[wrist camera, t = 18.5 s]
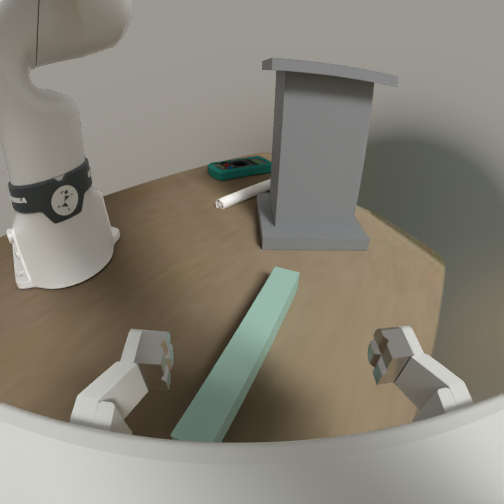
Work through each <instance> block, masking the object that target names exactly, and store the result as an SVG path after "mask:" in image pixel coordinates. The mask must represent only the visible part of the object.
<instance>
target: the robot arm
mask: <svg viewBox="0 0 504 504" xmlns="http://www.w3.org/2000/svg"><path fill="white" fill-rule="evenodd" d="M131 18H132V3H131V0H0V141H1V145H2V149H3V152H4V157H5V161H6V165H7V170H8V174H9V178H10V182H9V184H8V187H9V195H10V199H11V201H12V205H13V208H14V210H15V213H14V221H13V227H12V228H10V229H8V230H7V235H8V239H9V242H10V244H12V243H13V258H14V269H15V278H16V283H17V286H18V288H20V289H25V288H32V287H40V288H47V289H57V288H64V287H68V286H72V285H75V284H78V283H80V282H82V281H84V280H87V279H88V278H90V277H92V276H93V275H95V274H96V273H98V272H99V271H100V270H101V269H103V268H104V267H105V266H106V264H107V263H108V262H109V261H110V259H111V257H112V255H113V250H114V244H115V243H116V242H117V240H118V239H119V237H120V232H119V229H117V228H115V227H112V226H111V225H110V222H109V218H108V214H107V210H106V207H105V203H104V199H103V195H102V193H101V191H98V190H97V189H95V188H93V187H92V186H91V185H92V179H91V169H90V166H89V163H88V159H87V158H85V155H84V149H83V140H82V132H81V122H80V112H79V109H78V106H77V104H76V103H75V101H74V100H73V99H72V98H70V97H69V96H67V95H65V94H62V93H59V92H56V91H52V90H48V89H43V88H39V87H37V86H35V85H34V84H33V83H32V82H31V80H30V77H29V73H30V71H31V70H32V69H34V68H35V67H39V66H43V65H47V64H52V63H56V62H61V61H66V60H71V59H76V58H82V57H85V56H88V55H91V54H94V53H97V52H100V51H103V50H106V49H109V48H112V47H114V46H115V45H117V44H118V42H119V41H120V40H121V39H122V38H123V36H124V35H125V33H126V32H127V30H128V27H129V25H130V22H131ZM374 337H375V339H374V340H372V341H371V342H370V344H369V347H368V359H369V362H370V364H371V365H372V366H373V367H375V368H374V370H373V375H374V378H375V381H376V384H377V385H379V384H388V383H394V384H395V385H396V386H397V387H398V388H399V389H400V390H401V391H402V392H403V393H404V394H405V395H406V396H407V397H408V398H409V399H410V400H411V401H412V402H413V403H414V404H415V405H416V406H417V408H418V409H419V410H420V412H419V413H418V414H417V415H416V416H415V417H414V419H413V422H411V423H407V424H403V425H398V426H394V427H389V428H384V429H379V430H374V431H368V432H362V433H356V434H350V435H343V436H335V437H327V438H318V439H308V440H296V441H281V442H255V443H224V442H198V441H182V440H171V439H161V438H152V437H144V436H136V435H132V431H131V430H130V428H129V427H128V426H127V424H126V422H125V421H124V419H125V418H126V417H127V416H128V414H129V413H130V412H131V411H132V410H133V409H134V407H135V406H136V405H137V404H138V403H139V402H140V400H141V399H142V398H143V397H144V396H145V394H146V393H147V392H148V390H155V391H169V388H170V381H171V375H170V370H171V369H172V368H173V357H174V354H173V346H172V345H171V344H170V339H171V337H170V333H169V332H165V331H153V330H140V329H131V330H130V331H129V333H128V337H127V340H126V343H125V346H124V350H123V353H122V357H121V360H120V362H119V361H116V362H115V363H114V364H113V365H112V366H111V367H110V368H108V369H107V370H106V371H105V372H104V373H103V374H101V375H100V376H99V377H98V378H97V379H96V380H95V381H93V382H92V383H91V384H90V385H89V386H88V387H86V388H85V389H84V390H83V391H82V392H81V393H80V394H78V395H77V398H76V402H75V405H74V408H73V411H72V415H71V418H70V422H65V421H61V420H57V419H53V418H50V417H46V416H43V415H39V414H36V413H33V412H29V411H26V410H23V409H20V408H17V407H14V406H12V405H9V404H6V403H3V402H0V504H504V393H502V394H499V395H497V396H494V397H492V398H489V399H486V400H484V401H481V402H478V403H475V404H474V403H473V401H472V399H471V396H470V394H469V392H468V390H467V387H466V385H465V383H464V382H463V381H462V380H461V379H459V378H458V377H457V376H455V375H454V374H453V373H451V372H450V371H449V370H447V369H446V368H445V367H444V366H442V365H441V364H440V363H438V362H437V361H436V360H434V359H433V358H432V357H430V356H429V355H428V354H424V353H423V350H422V348H421V346H420V344H419V342H418V340H417V338H416V336H415V334H414V332H413V330H412V328H411V327H410V326H403V327H391V328H380V329H377V330H376V331H375V333H374Z"/></svg>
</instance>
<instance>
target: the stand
mask: <svg viewBox="0 0 504 504" xmlns="http://www.w3.org/2000/svg"><path fill="white" fill-rule="evenodd" d="M262 70H276V89H275V109H274V128H273V147H272V163H271V180H270V193H257V210H258V218H259V227H260V235H261V244H262V250H367V248H368V244H369V240H370V239H369V237H368V236H367V234H366V233H365V231H364V230H363V228H362V227H361V225H360V224H359V222H358V221H357V219H356V218H355V216H354V215H355V209H356V204H357V199H358V193H359V188H360V182H361V176H362V171H363V165H364V158H365V151H366V145H367V138H368V131H369V123H370V116H371V107H372V99H373V98H372V97H373V89H374V83H379V84H384V85H389V86H393V87H397V83H398V76H394V75H390V74H385V73H381V72H376V71H371V70H366V69H360V68H355V67H348V66H343V65H335V64H329V63H322V62H313V61H303V60H293V59H281V58H271V59H268V60H264V61H263V62H262Z"/></svg>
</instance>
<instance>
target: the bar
mask: <svg viewBox="0 0 504 504" xmlns="http://www.w3.org/2000/svg"><path fill="white" fill-rule="evenodd" d="M299 274H300V273H299V272H295V271H291V270H287V269H283V268H279V267H275V268H274V270H273V271H272V273H271V275H270V276H269V278H268V280H267V281H266V283H265V285H264V286H263V288H262V290H261V291H260V293H259V295H258V296H257V298H256V299H255V301H254V303H253V304H252V306H251V308H250V309H249V311H248V313H247V314H246V316H245V318H244V319H243V321H242V322H241V324H240V326H239V327H238V329H237V331H236V332H235V334H234V335H233V337H232V339H231V340H230V342H229V343H228V345H227V347H226V348H225V350H224V352H223V353H222V355H221V356H220V358H219V360H218V361H217V363H216V364H215V366H214V367H213V369H212V371H211V372H210V374H209V375H208V377H207V379H206V380H205V382H204V383H203V385H202V386H201V388H200V390H199V391H198V393H197V394H196V396H195V397H194V399H193V400H192V402H191V404H190V405H189V407H188V408H187V410H186V411H185V413H184V414H183V416H182V418H181V419H180V421H179V422H178V424H177V425H176V427H175V428H174V430H173V431H172V433H171V434H170V436H171V438H172V440H182V441H198V442H222V440H223V438H224V436H225V435H226V433H227V431H228V429H229V427H230V425H231V423H232V422H233V420H234V418H235V416H236V414H237V412H238V410H239V408H240V406H241V405H242V403H243V401H244V399H245V397H246V395H247V393H248V391H249V389H250V387H251V385H252V383H253V381H254V379H255V377H256V375H257V373H258V371H259V369H260V367H261V365H262V363H263V361H264V359H265V357H266V355H267V353H268V351H269V349H270V347H271V345H272V343H273V341H274V339H275V337H276V334H277V332H278V330H279V328H280V326H281V324H282V322H283V320H284V318H285V315H286V313H287V311H288V309H289V307H290V305H291V302H292V300H293V298H294V296H295V294H296V292H297V287H298V281H299Z"/></svg>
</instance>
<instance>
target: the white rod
mask: <svg viewBox="0 0 504 504" xmlns="http://www.w3.org/2000/svg"><path fill="white" fill-rule="evenodd" d="M270 180H271V179H269V180H266V181H263V182H261V183H258V184H255V185H252V186H250V187H247V188H244V189H242V190H240V191H237V192H235V193H232V194H230V195H227V196H225V197H222V198H219V199H218V200H216V207H217V208H220V207H221V209H222V210H223V209H226V208H228V207H230V206H232V205H235V204H237V203H239V202H242V201H244V200H246V199H249V198H251V197H254V196H256V195H257V193H263V192H265V191H268V190H270Z"/></svg>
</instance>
